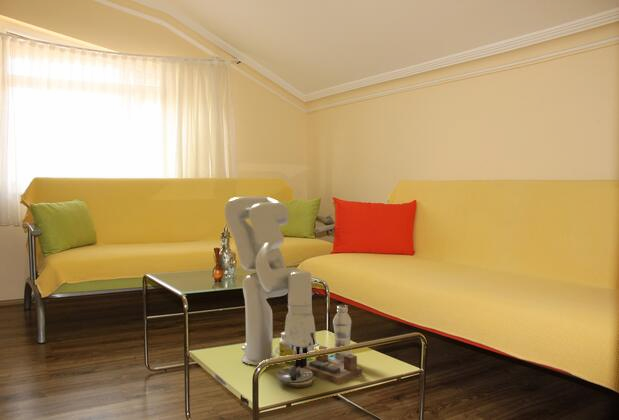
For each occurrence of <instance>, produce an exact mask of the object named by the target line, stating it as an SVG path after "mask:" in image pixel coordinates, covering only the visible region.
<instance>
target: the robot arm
mask: <svg viewBox="0 0 619 420" xmlns="http://www.w3.org/2000/svg"><path fill="white" fill-rule="evenodd" d="M224 217H225V222H226V225H227V226H228V228H229V230H230V233H231V235H232V237H233V240H234V245H235V248H236V252H237V255H238V260H239V263H240V265H241V267H242V269H243V270H245V271H248V272H249V271H250V272H251V271H253V272H252V273H249V274H248V275H246V276H245V277H244V278H243V280H242V292H243V293H242V294H243V297H244V304H245V305H244V307H245V344H244V346H241V351H243V352H244V355H242V357H241V362H242V361H243V362H245V363H248V364H247V365H249V364H257V365H256V366H259V365H258V364H259V363H260V362H262V361H263V360H266V359H270V358H274V357H277V358H278V355H277V354H276V353H273V352H274V350H273V349H274V348H273V345H274V342H273V340H274V339H273V310H272V308H271V305H270V303H268V301H267V299H270V298H276V297H283V296H285V295H287V302H288V303H287V308H288V312H287V313H286V316H285V323H284V324H285V325H284V332H285V342H286V343H287V344H288V345H289V346H290V347H292V348H293V350H294V354H302V353H307V352H308V353H309V352H313V351H315V345H316V339H317V337H316V336H317V335H316V326H315V325H316V324H315V318H314V314H313V306H312V305H313V304H312V303H313V302H312V301H313V299H312V297H313V296H312V295H313V294H312V293H313V291H312V290H313V289H312V274H311V272H310V271H308V270H304V269H303V270H301V269H300V268H298V267H293V266H292V267H287V266H286V262H285V259H284V255H283V253H282V251H281V249H280V246H282V245H283V243H284V241H285V238H284V235H283V233H282V231H281V228H280V227H281V226H284V225H286V224H288V221H289V218H290V212H289V209H288V207H287V206H286V205H285V203H283V202H281V201H278V200H277V199H274V198H272V197H268V196H264V195H263V196H236V197H232V198H230V199H229V200H228V201H227V202H226V204H225V208H224ZM247 220H250V223H251V224H250V223H248V222H247ZM254 271H255V272H254ZM307 362H308V360H307V358H305V359H301V360H296V365H299V366H300V368H303V367H305V366H307ZM245 363H244V364H245Z"/></svg>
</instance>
